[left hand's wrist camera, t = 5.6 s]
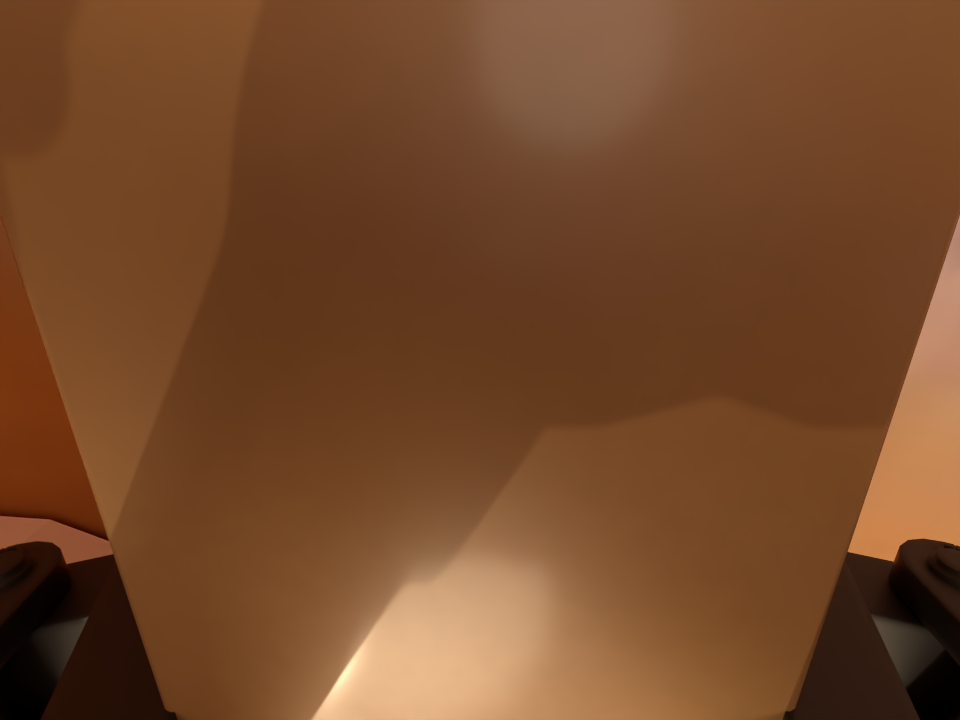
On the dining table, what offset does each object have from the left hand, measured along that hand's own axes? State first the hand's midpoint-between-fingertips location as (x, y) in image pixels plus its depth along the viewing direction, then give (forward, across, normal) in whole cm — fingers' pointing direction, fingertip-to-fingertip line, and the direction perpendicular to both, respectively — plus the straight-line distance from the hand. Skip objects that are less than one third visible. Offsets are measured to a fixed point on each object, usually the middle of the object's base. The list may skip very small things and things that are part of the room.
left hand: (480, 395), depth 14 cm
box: (+1, 0, -10) cm, 10 cm away
